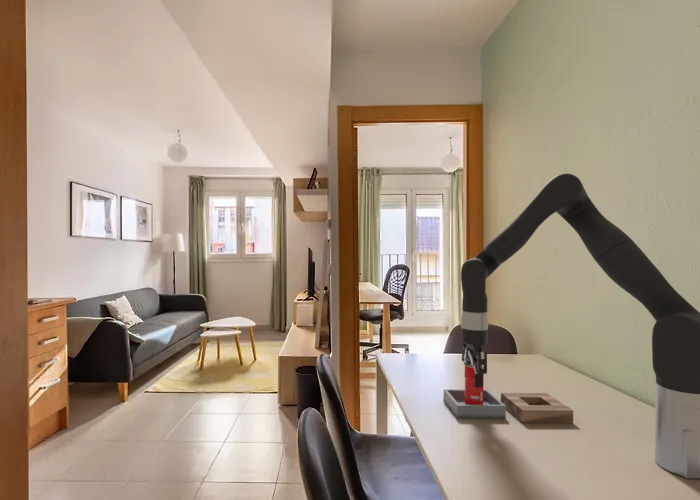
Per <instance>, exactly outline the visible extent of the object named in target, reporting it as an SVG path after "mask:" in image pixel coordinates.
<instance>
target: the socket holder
mask: <svg viewBox="0 0 700 500" xmlns="http://www.w3.org/2000/svg"><path fill="white" fill-rule="evenodd" d="M500 401H501V402H502V403H503V404H504V405H506V411H507V412H509V413H510V414H511V415H512V416H513V417H514V418H516V420H518V421H519V422H520V423H521V424H574V410H573V409H572V408H570V407H569V406H568V405H565V404H564V403H563V402H561V401H560V400H558V399H556V398H555V397H553V396H552V395H550V394H548V393H547V392H500Z"/></svg>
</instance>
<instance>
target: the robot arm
mask: <svg viewBox="0 0 700 500" xmlns="http://www.w3.org/2000/svg"><path fill="white" fill-rule="evenodd" d="M586 191H587V190H586V189H585V187H584V184H583V183H582V181H581V180H580V178H579V177H578V176H576V175H574V174H572V173H569V172H568V173H560V174H558V175H555V176H554V177H552V178H551V179H550V180H549V181H548V182H547V183H546V184H545V185H544V186H543V188H541V190H540V191H539V192H538V193H537V195H536V196H535V197H534V198H533V200H532V201H530V203H528V205H527V206H526V207H525V208H524V209H523V210H522V212H520V213H519V215H518V216H517V217H516V218H514V220H513V221H511V222H510V224H508V225H507V226H505V228H504V229H503V230H502V231H500V232H499V233H498V234H497V235H496V236H495V237H494V238H492V240H490V241H489V242H487V244H486V246H485V247H484V249H483V250H482V251H480V252H479V253H478V254H476V255H475V256H474V257H473V258H470V259H467V260H465V261H464V263H463V264H462V266H461V269H460V283H461V291H462V303H461V305H462V306H461V307H462V308H461V309H462V310H461V320H460V322H461V323H460V342H461V343H462V345H461V346H462V347H461V362H463V365H464V368H465V367H466V364H469V363H471V365H472V366H473V367H474V372H475V384H474V385H475V387H477V388H482V387H483V388H484V383H483V374H484V375H487V373H488V352H487V351H483V346H485V345H487V344H488V342H489V341H488V340H489V337H488V336H489V330H488V329H489V316H488V295H487V292H486V284H487V283H486V279H488V277H490V276H491V275H492V274H493V273H494V272H495V271H496V270H497V269H498V268H499V267H500V266H501V265H502V264H504V263H505V262H507V261H508V260H509V259H511V257H513V256H514V255H515V254H516V253H518V252H519V251H520V250H521V249H522V248H523V247H524V246H525V245H526V244H527V243H528V241H529V240H530V239H531V237H532V236H533V235H534V234H535V232H536V231H537V229H539V227H540V226H541V225H542V224H543V223H544V222H545V221H546V220H547V219H548V218H550V217H551V216H552V215H553V214H555V213H556V214H558V215H559V216H560V217H561V219H563V220H564V221H566V222H567V224H568V225H569V226H570V227H571V228H573V230H574V231H575V232H576V233H577V235H578V236H579V238H580V240H581V241H582V243H583V246H585V248H586V249H587V251H588V252H589V254H590V255H591V257H592V258H593V259H594V261H595V262H596V263H597V265H598V266H599V267H600V268H601V269H602V271H603V272H604V273H605V274H606V275H607V277H608V278H610V279H611V281H613V282H614V283H615V284H616V285H617V286H618V287H620V288H621V289H622V290H624V291H625V292H626V293H627V294H629V295H630V296H632V297H633V298H634V299H636V301H639V302H640V303H641V304H642V305H643V306H644V308H645V310H647V311H648V313H650V315H651V316H652V318H653V319H654V321H655V323H654V325H653V327H652V333H651V347H652V349H651V352H652V354H651V357H652V360H651V361H652V368H653V369H652V370H653V372H654V375H655V413H654V414H655V416H654V417H655V419H654V420H655V423H654V425H655V427H654V428H655V429H654V430H655V431H654V432H655V433H654V462H655V463H656V464H657V465H658V466H659V467H661V468H662V469H664V470H667V471H669V472H670V473H673V474H676V475H679V476H681V477H683V478H685V479H700V311H698V310H697V309H696V308H695V307H694V306H693V305H692V304H691V303H690V302H689V301H687V300H686V299H685V298H684V297H683V296H682V295H681V294H680V293H679V292H678V291H677V290H676V289H675V288H674V287H673V286H672V285H671V284H670V282H669V281H668V280H667V279H666V278H665V276H664V275H663V274H662V273H661V271H660V269H658V267H656V265H655V264H654V263H653V262H652V261H651V259H650V258H649V257H648V256H647V255H646V254H645V252H644V251H643V250H642V249H641V248H640V247H639V246H638V245H637V244H636V243H635V241H634V240H633V239H632V238H631V237H630V236H629V235H628V234H626V233H625V232H624V231H623V230H622V229H620V228H619V227H618V226H617V225H615V224H614V223H613V222H611V221H610V220H608V219H607V218H606V217H605V216H604V215H602V213H601V211H599V210H598V208H597V207H596V205H595V204H594V203H593V201H592V200H591V198H590V197H589V195H588V193H587V192H586ZM480 368H481V369H480Z"/></svg>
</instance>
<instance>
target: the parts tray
mask: <svg viewBox="0 0 700 500" xmlns="http://www.w3.org/2000/svg"><path fill="white" fill-rule="evenodd" d="M442 399H443V402H444V403H445V405H446V406H447V407H448V408H449V410H450V411H451V412H452V414H453V415H454V416H455V418H456V419H497V420H498V419H500V420H501V419H504V420H505V419H507V417H506V416H507V415H506V414H507V412H506V411H507V409H506V405H504V404H503V403H502V402H501V399H499V398H498V397H496V395H494V394H493V393H492V392H491V391H490V390H488V389H483V405H466V404H465V388H464V389H463V388H462V389H458V388H457V389H455V388H454V389H453V388H452V389H451V388H450V389H448V388H447V389H446V388H445V389H443V398H442Z"/></svg>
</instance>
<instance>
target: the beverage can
mask: <svg viewBox="0 0 700 500" xmlns="http://www.w3.org/2000/svg"><path fill="white" fill-rule="evenodd" d="M480 369H481V368H480ZM484 375H485V374H483V384H485V383H484ZM474 384H475V372H474V367H473V366H472V365H471V363H469V364H466V367H465V366H464V389H465V404H466V405H483V390H484V386H483V387H482V388H477V387H475V385H474Z"/></svg>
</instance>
